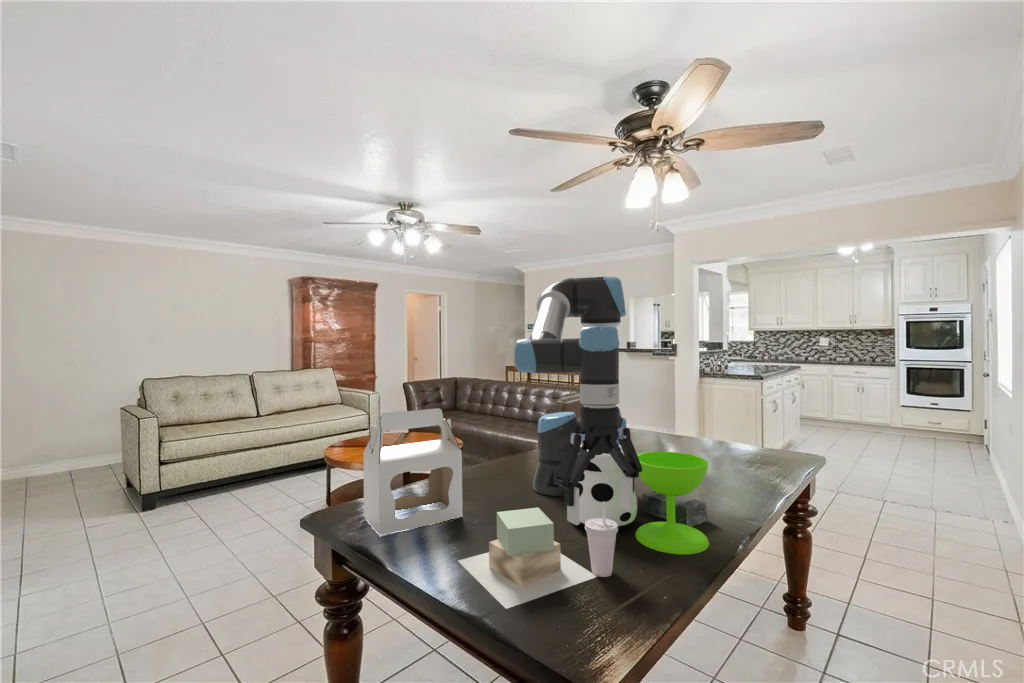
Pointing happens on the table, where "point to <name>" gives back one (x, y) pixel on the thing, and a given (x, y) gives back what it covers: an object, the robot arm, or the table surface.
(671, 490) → the wineglass
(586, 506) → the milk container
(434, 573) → the table surface
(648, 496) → the stone block
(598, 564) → the smoothie
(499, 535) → the sage block
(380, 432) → the gable box
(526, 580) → the beech tray
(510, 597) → the felt mat
